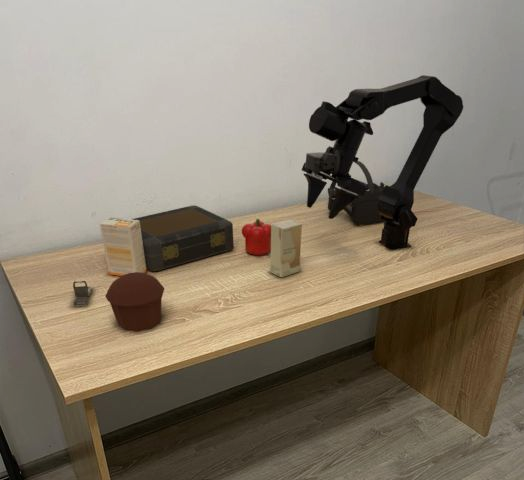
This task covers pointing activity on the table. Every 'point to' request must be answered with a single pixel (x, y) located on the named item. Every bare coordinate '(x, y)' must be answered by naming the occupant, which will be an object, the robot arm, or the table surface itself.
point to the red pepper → (257, 238)
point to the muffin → (136, 301)
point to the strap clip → (81, 294)
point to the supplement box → (123, 246)
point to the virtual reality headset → (362, 201)
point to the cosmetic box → (285, 247)
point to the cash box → (183, 236)
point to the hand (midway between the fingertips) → (319, 212)
